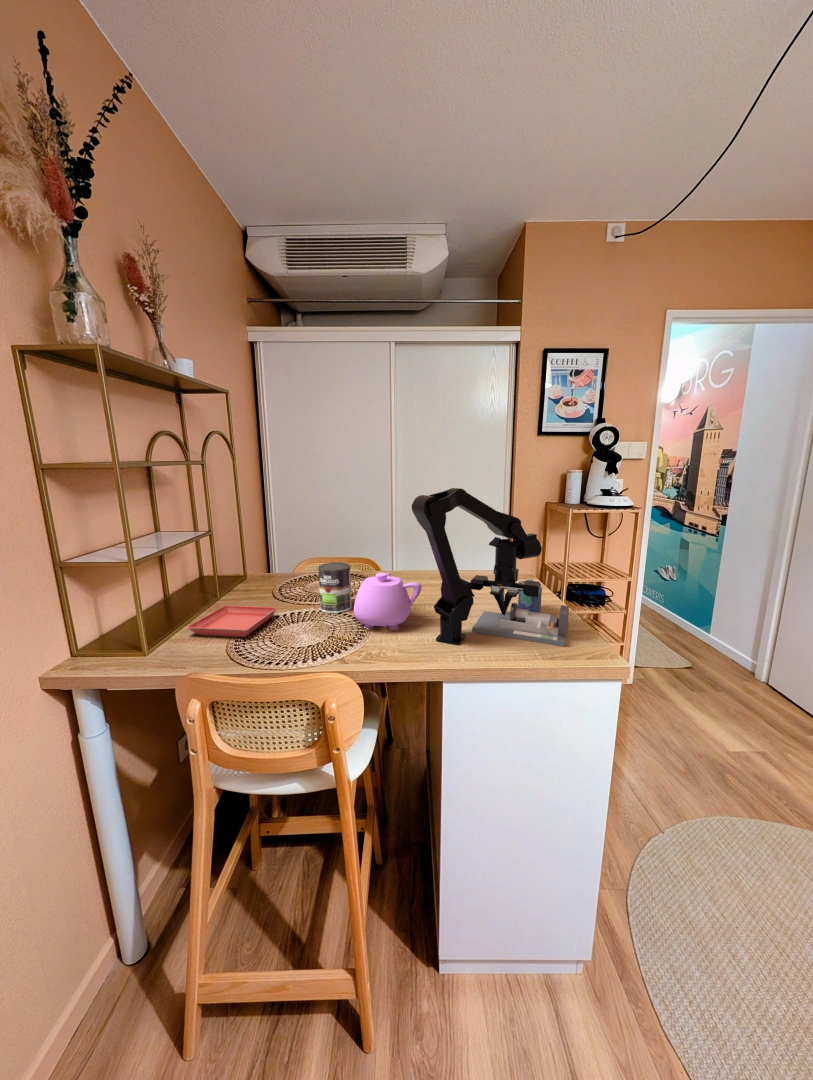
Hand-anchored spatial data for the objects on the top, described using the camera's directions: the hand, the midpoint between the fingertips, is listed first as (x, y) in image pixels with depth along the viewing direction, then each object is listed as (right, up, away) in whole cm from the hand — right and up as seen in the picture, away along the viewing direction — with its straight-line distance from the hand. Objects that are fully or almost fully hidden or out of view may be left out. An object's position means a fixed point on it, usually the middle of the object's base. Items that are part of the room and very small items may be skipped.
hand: (503, 614), depth 114 cm
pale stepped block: (+6, -3, -5) cm, 8 cm away
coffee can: (-51, -1, +18) cm, 54 cm away
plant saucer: (-78, -5, +4) cm, 78 cm away
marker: (+11, -3, -7) cm, 14 cm away
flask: (+10, -2, +12) cm, 16 cm away
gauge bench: (+4, -4, -1) cm, 6 cm away
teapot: (-33, -3, +6) cm, 34 cm away
